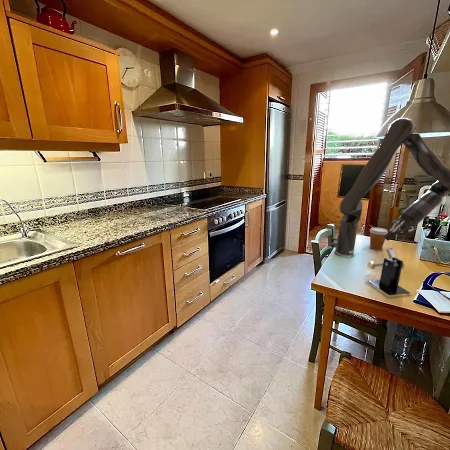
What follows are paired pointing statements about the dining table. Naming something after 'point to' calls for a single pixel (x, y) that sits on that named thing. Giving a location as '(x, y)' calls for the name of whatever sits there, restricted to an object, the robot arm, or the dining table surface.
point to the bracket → (390, 278)
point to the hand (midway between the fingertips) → (385, 239)
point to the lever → (372, 265)
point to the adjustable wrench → (392, 253)
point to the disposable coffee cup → (377, 238)
